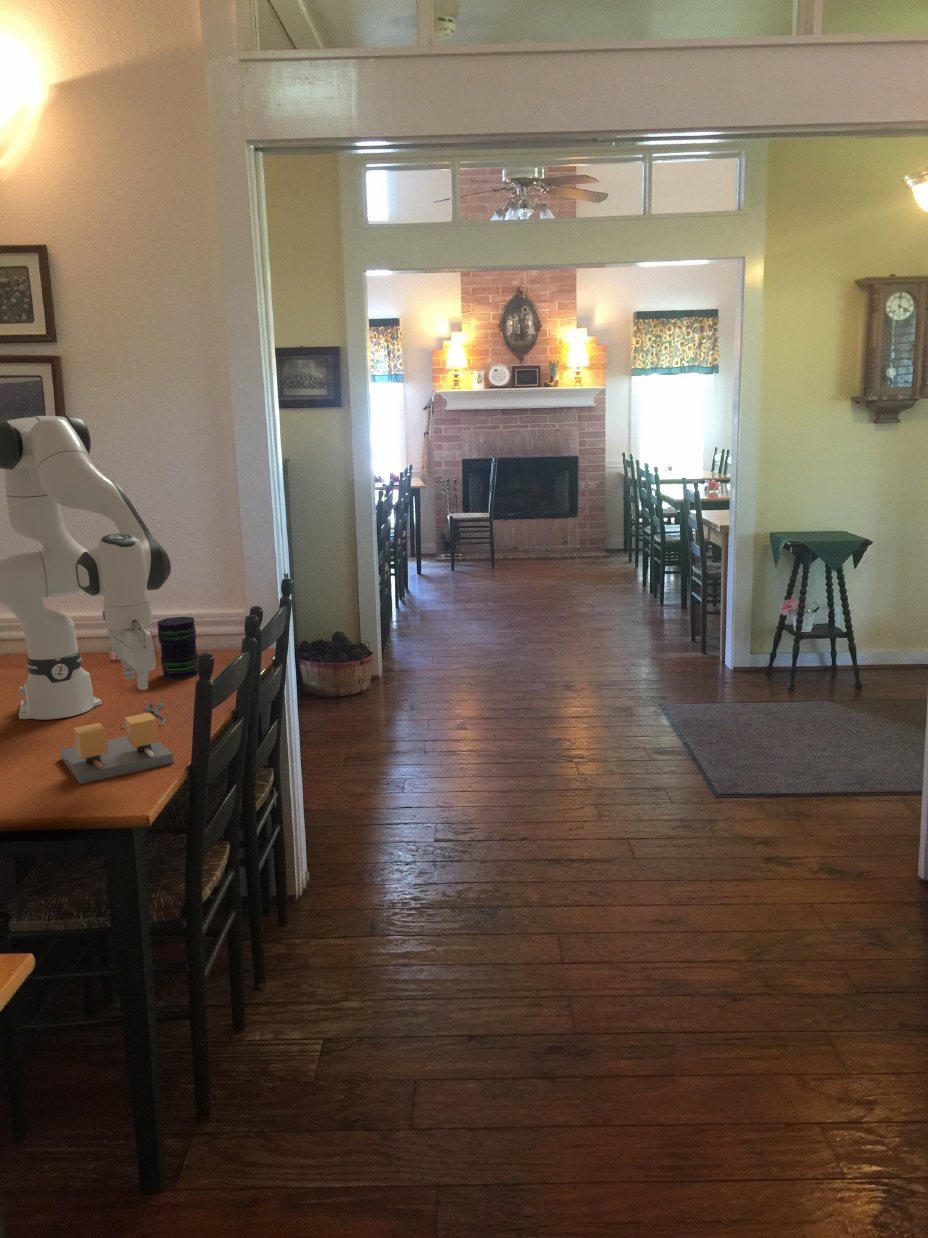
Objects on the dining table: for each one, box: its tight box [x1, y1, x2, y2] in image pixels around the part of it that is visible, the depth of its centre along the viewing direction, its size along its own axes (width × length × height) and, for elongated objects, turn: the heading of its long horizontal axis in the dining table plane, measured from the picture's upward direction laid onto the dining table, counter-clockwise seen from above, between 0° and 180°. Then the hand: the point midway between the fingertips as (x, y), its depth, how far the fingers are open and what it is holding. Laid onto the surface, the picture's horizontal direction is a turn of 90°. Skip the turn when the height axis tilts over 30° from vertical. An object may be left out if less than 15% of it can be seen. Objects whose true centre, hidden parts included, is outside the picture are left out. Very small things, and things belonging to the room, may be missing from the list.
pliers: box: [121, 700, 167, 730], centre depth 230 cm, size 10×1×20 cm
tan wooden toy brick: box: [124, 713, 160, 748], centre depth 199 cm, size 5×5×5 cm
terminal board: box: [60, 722, 174, 785], centre depth 200 cm, size 18×18×9 cm
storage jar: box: [156, 616, 199, 680], centre depth 266 cm, size 10×10×15 cm
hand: (136, 683), depth 198 cm, fingers open, 8 cm apart
